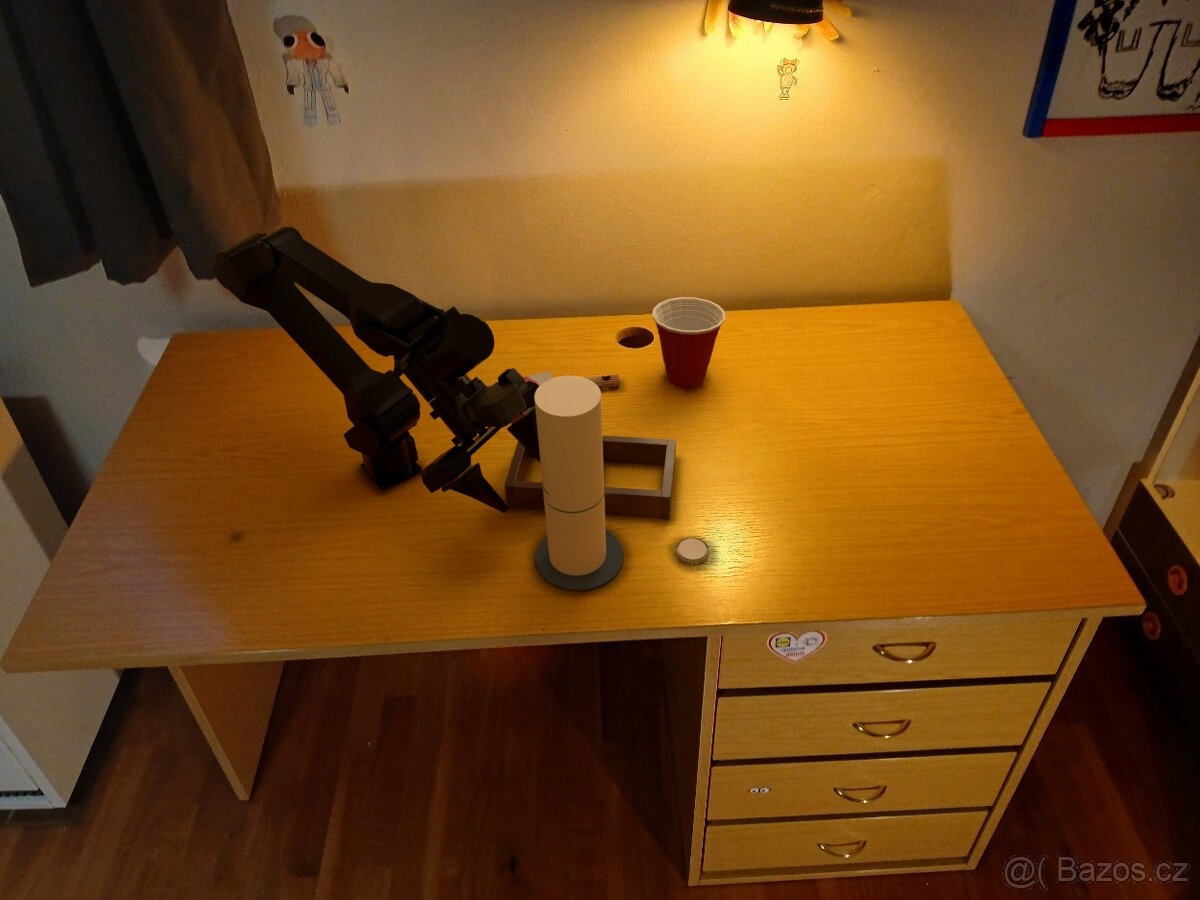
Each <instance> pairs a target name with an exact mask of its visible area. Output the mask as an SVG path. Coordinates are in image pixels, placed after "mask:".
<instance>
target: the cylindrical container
mask: <svg viewBox="0 0 1200 900" xmlns="http://www.w3.org/2000/svg"><path fill="white" fill-rule="evenodd" d="M583 377H584V376H580V375H561V376H555V377H552V379H550V380H548V381H546V382H544V383H543V384H542V385H540V386H539V388H538V389H537V390H536V392H535V397H534V399H535V409H536V419H537V430H538V440H539V452H540V462H539V463H540V471H541V482H542V485H543V495H544V506H545V510H544V515H545V527H546V536H547V538H548V549H549V558H550V562H551V564H552V565H553V566H554V567H555V568H556V569H557V570H558V571H560V572H562V573H564V574H567V575H578V576H579V575H585V574H589V573H591V572H593V571H595V570H597V569H598V568H599V567H600V566H601V565H602V564H603V562H604V561H605V557H606V534H605V530H606V515H605V503H604V487H605V476H604V475H605V474H604V473H605V472H604V462H603V439H602V435H603V413H602V411H603V410H602V409H603V408H602V392H601V388H599V387H598V386H597V385H596V384H595V383H594V382H592V381H591V380H589V379H586V378H583Z"/></svg>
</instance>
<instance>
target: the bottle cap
mask: <svg viewBox="0 0 1200 900" xmlns="http://www.w3.org/2000/svg"><path fill="white" fill-rule="evenodd" d="M675 554H676V557H677V558H678V560H679V561H680V562H682V563H684V564H688V565H699V564H701V563H704V562H705V561H706V560H707V558H708V557H709V546H708V543H706V541H704V540H703V539H701V538H698V537H686V538H683V539H681V540H680V541H678V543H677V545H676V547H675Z"/></svg>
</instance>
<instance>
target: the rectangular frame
mask: <svg viewBox="0 0 1200 900" xmlns="http://www.w3.org/2000/svg"><path fill="white" fill-rule="evenodd" d="M602 439H603V463H607V464H609V463H610V464H623V465H624V464H626V465H636V466H637V465H639V466H652V467H653V466H654V467H663V477H662V485H661V490H659V489H643V488H630V487H615V486H614V487H613V486H604V503H605V516H620V517H630V518H631V517H633V518H645V519H661V520H671V509H672V501H673V500H672V499H673V490H674V478H675V471H676V456H677V455H676V454H677V453H676V452H677V439H669V438H668V439H666V438H654V437H637V436H619V435H606V434H605V435H604V434H602ZM531 458H532V459H536V458H535V457H534V456H533V455H532V454H531V453H530V452H529V451H528V450H527V449H526V448H525V447H524V446H523V445H522V444H521V443H520V442H519V441H518V440H517V443H516V447H515V450H514V452H513V456H512V458H511V459H512V460H511V463H510V467H509V469H508V473H507V476H506V479H505V483H504V493H505V503H506V505H507V506H508V508H509V509H520V510H521V509H523V510H524V509H525V510H536V511H545V506H544V495H543V485H542V481H529V480H527V481H526V480H525V477H526V473H527V471H528V466H529V463H530V459H531Z"/></svg>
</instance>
